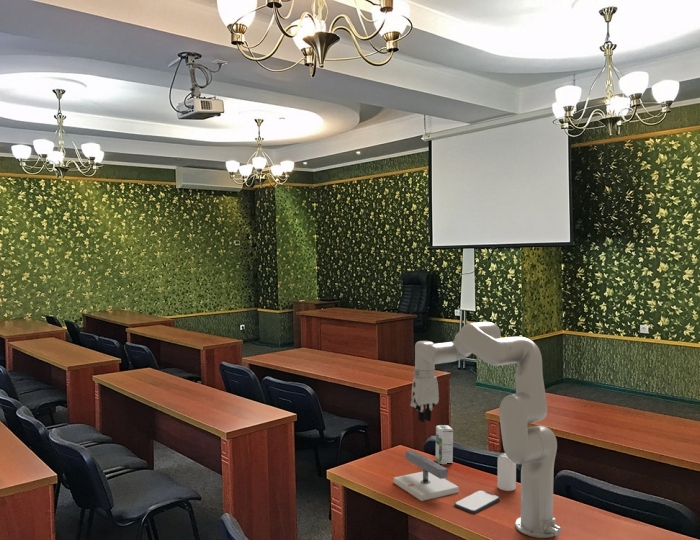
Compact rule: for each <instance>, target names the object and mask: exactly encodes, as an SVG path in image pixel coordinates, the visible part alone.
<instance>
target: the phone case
mask: <svg viewBox="0 0 700 540" xmlns="http://www.w3.org/2000/svg"><path fill="white" fill-rule="evenodd" d="M500 501H501V498H500V496H498V495H496V494H493V493H490V492H487V491H485V490H482V489H481V490H477V491H475V492H473V493H471V494H469V495H467V496H465V497H463V498H461V499H459V500H457V501H455V502H454V503H453V506H454V508H456V507H457V508H456V509H458V510H459V509H460V510H461V509H462V510H461V511H464V512H466V511H467V513H470V514H478V513H479V512H481V511H484V510H485V509H487V508H489V507H491V506H493V505H495V504H498V503H499V502H500Z"/></svg>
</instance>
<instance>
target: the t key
mask: <svg viewBox="0 0 700 540" xmlns="http://www.w3.org/2000/svg"><path fill="white" fill-rule="evenodd" d="M405 460H407V461H408V462H410V463H412V464H413V465H415V466H417V467H419V468H421V469H422V472H423V482H425V483H427V482H428V472H429V473H431V474H433V475H434V476H436V477H438V478H440V479H443V478H444V479H446V478H447V479H448V477H449V476H448V474H449V473H448V471H449V470H448V468H446V467H445V466H443V465H440V464H439V463H438V462H437V461H433V460H432V459H430V458H428V457H427V456H424V455H422V454H420V453H418V452H416V451H415V450H413V449H410V450H405Z"/></svg>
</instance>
